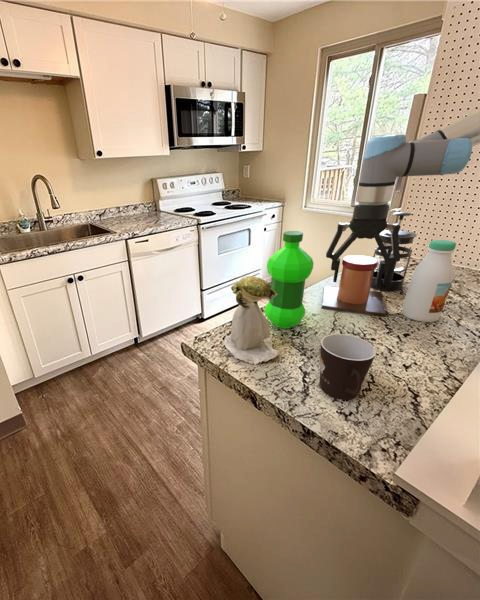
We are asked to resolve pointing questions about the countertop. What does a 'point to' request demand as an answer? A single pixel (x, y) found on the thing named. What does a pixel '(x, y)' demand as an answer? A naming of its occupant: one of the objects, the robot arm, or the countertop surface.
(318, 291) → the countertop surface
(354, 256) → the lid
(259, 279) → the turtle figurine
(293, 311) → the plastic bottle
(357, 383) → the coffee mug
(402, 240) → the french press
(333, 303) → the board
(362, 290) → the jar
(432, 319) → the milk bottle
